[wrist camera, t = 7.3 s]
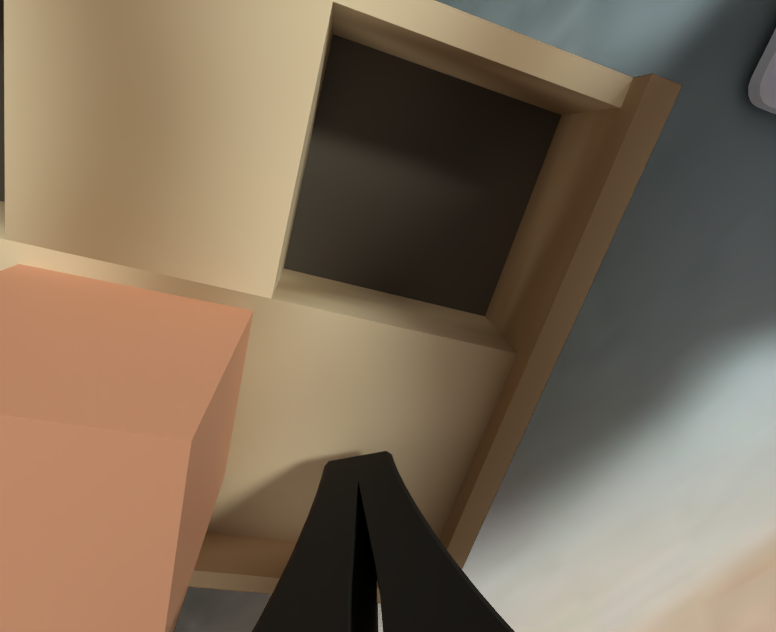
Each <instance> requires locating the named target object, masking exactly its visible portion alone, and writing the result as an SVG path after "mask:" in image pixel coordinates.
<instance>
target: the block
mask: <svg viewBox="0 0 776 632" xmlns="http://www.w3.org/2000/svg"><path fill="white" fill-rule="evenodd" d="M252 316H253V311H252V310H247V309H242V308H237V307H232V306H227V305H222V304H217V303H212V302H207V301H202V300H197V299H192V298H187V297H182V296H177V295H172V294H167V293H162V292H157V291H152V290H147V289H142V288H137V287H132V286H127V285H122V284H117V283H112V282H107V281H102V280H97V279H92V278H87V277H82V276H77V275H72V274H67V273H62V272H57V271H52V270H47V269H42V268H37V267H32V266H27V265H22V264H17V265H15V266H12V267H10V268H7V269H4V270H2V271H0V632H174V629H175V626H176V623H177V620H178V617H179V614H180V611H181V608H182V605H183V602H184V598H185V595H186V592H187V589H188V586H189V583H190V580H191V577H192V574H193V571H194V568H195V565H196V562H197V559H198V556H199V553H200V549H201V546H202V543H203V540H204V537H205V534H206V531H207V528H208V525H209V522H210V519H211V516H212V513H213V510H214V507H215V504H216V500H217V497H218V494H219V491H220V488H221V485H222V482H223V479H224V476H225V470H226V465H227V459H228V453H229V448H230V442H231V436H232V430H233V425H234V419H235V413H236V407H237V402H238V396H239V390H240V385H241V379H242V373H243V367H244V362H245V356H246V350H247V345H248V339H249V333H250V327H251V322H252Z"/></svg>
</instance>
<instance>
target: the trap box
mask: <svg viewBox="0 0 776 632" xmlns="http://www.w3.org/2000/svg"><path fill="white" fill-rule="evenodd" d="M681 87H682V85H680V84H678V83H675V82H673V81H670V80H668V79H665V78H662V77H660V76H657V75H655V74H648V75H643V76H639V77H634V78H633V77H630V76H628V75H625V74H623V73H620V72H617V71H615V70H612V69H610V68H607V67H605V66H602V65H599V64H597V63H594V62H592V61H589V60H587V59H584V58H581V57H579V56H576V55H574V54H571V53H569V52H566V51H563V50H561V49H558V48H556V47H553V46H551V45H548V44H545V43H543V42H540V41H538V40H535V39H533V38H530V37H527V36H525V35H522V34H520V33H517V32H515V31H512V30H509V29H507V28H504V27H502V26H499V25H496V24H494V23H491V22H489V21H486V20H484V19H481V18H478V17H476V16H473V15H471V14H468V13H466V12H463V11H460V10H458V9H455V8H453V7H450V6H448V5H445V4H442V3H440V2H437V1H435V0H0V271H2V270H4V269H7V268H10V267H12V266H15V265H17V264H22V265H27V266H32V267H37V268H42V269H47V270H52V271H57V272H62V273H67V274H72V275H77V276H82V277H87V278H92V279H97V280H102V281H107V282H112V283H117V284H122V285H127V286H132V287H137V288H142V289H147V290H152V291H157V292H162V293H167V294H172V295H177V296H182V297H187V298H192V299H197V300H202V301H207V302H212V303H217V304H222V305H227V306H232V307H237V308H242V309H247V310H252V311H253V316H252V322H251V327H250V333H249V339H248V345H247V350H246V356H245V362H244V367H243V373H242V379H241V385H240V390H239V396H238V402H237V407H236V413H235V419H234V425H233V430H232V436H231V442H230V448H229V453H228V459H227V465H226V470H225V476H224V479H223V482H222V485H221V488H220V491H219V494H218V497H217V500H216V504H215V507H214V510H213V513H212V516H211V519H210V522H209V525H208V528H207V531H206V534H205V537H204V540H203V543H202V546H201V549H200V553H199V556H198V559H197V562H196V565H195V568H194V571H193V574H192V577H191V580H190V583H189V586H188V587H199V588H210V589H221V590H233V591H244V592H255V593H267V594H272V593H273V591H274V589H275V587H276V585H277V583H278V581H279V579H280V577H281V575H282V573H283V571H284V569H285V567H286V565H287V563H288V561H289V559H290V556H291V554H292V552H293V550H294V548H295V545H296V543H297V540H298V538H299V536H300V533H301V531H302V529H303V526H304V524H305V522H306V519H307V517H308V514H309V512H310V509H311V506H312V504H313V501H314V498H315V495H316V493H317V490H318V487H319V483H320V480H321V477H322V473H323V469H324V466H325V465H326V464H327V463H328V461H332V460H338V459H343V458H349V457H354V456H360V455H366V454H371V453H377V452H382V451H387V452H389V453H391V454H392V456H393V459H394V462H395V465H396V467H397V470H398V472H399V474H400V476H401V478H402V480H403V482H404V484H405V486H406V488H407V489H408V491H409V493H410V495H411V497H412V498H413V500H414V502H415V503H416V505H417V507H418V508H419V510H420V511H421V513H422V514H423V516H424V517H425V519H426V521H427V522H428V524H429V525H430V527H431V528H432V530H433V531H434V533H435V534H436V536H437V537H438V538H439V540H440V541H441V543H442V544H443V546H444V547H445V548H446V550H447V551H448V552H449V554H450V555H451V556H452V558H453V559H454V560H455V562H456V563H457V564H458V566H459V567H460V568H461V570H462V568H463V566H464V564H465V561H466V559H467V557H468V555H469V553H470V550H471V548H472V546H473V544H474V542H475V540H476V537H477V535H478V533H479V531H480V529H481V526H482V524H483V522H484V520H485V518H486V515H487V513H488V511H489V509H490V507H491V504H492V502H493V500H494V498H495V496H496V493H497V491H498V489H499V487H500V485H501V482H502V480H503V478H504V476H505V474H506V471H507V469H508V467H509V465H510V463H511V460H512V458H513V456H514V454H515V452H516V449H517V447H518V445H519V443H520V441H521V438H522V436H523V434H524V432H525V430H526V427H527V425H528V423H529V421H530V419H531V416H532V414H533V412H534V410H535V408H536V406H537V403H538V401H539V399H540V397H541V395H542V392H543V390H544V388H545V386H546V384H547V381H548V379H549V377H550V375H551V373H552V370H553V368H554V366H555V364H556V362H557V359H558V357H559V355H560V353H561V351H562V348H563V346H564V344H565V342H566V340H567V337H568V335H569V333H570V331H571V329H572V326H573V324H574V322H575V320H576V318H577V315H578V313H579V311H580V309H581V307H582V304H583V302H584V300H585V298H586V296H587V293H588V291H589V289H590V287H591V285H592V282H593V280H594V278H595V276H596V274H597V272H598V269H599V267H600V265H601V263H602V261H603V258H604V256H605V254H606V252H607V250H608V247H609V245H610V243H611V241H612V239H613V236H614V234H615V232H616V230H617V228H618V225H619V223H620V221H621V219H622V217H623V214H624V212H625V210H626V208H627V206H628V203H629V201H630V199H631V197H632V195H633V192H634V190H635V188H636V186H637V184H638V181H639V179H640V177H641V175H642V173H643V170H644V168H645V166H646V164H647V162H648V159H649V157H650V155H651V153H652V151H653V148H654V146H655V144H656V142H657V140H658V138H659V135H660V133H661V131H662V129H663V127H664V124H665V122H666V120H667V118H668V116H669V113H670V111H671V109H672V107H673V105H674V102H675V100H676V98H677V96H678V94H679V91H680V89H681ZM377 603H381V599H380V592H379V587H378V582H377Z"/></svg>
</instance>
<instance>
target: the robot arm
mask: <svg viewBox="0 0 776 632" xmlns="http://www.w3.org/2000/svg"><path fill="white" fill-rule="evenodd" d="M748 96H749V99H750V101H751V103H752V104H753V105H755V106H756V107H758V108H760V109H763V110H765V111H768V112H770V113H773V114H775V115H776V29H775V31H774V33H773V35H772V37H771V39H770V41H769V43H768V45H767V47H766V49H765V51H764V53H763V55H762V57H761V59H760V61H759V63H758V65H757V67H756V69H755V71H754V73H753V75H752V77H751V80H750V83H749V86H748ZM377 582H378V587H379V592H380V599H381V610H382V621H383V632H514V630H513V629H512V628H511V627H510V626H509V625H508V624H507V623H506V622H505V621H504V619H503V618H502V617H501V616H500V615H499V614H498V613H497V612H496V611H495V609H494V608H493V607H492V606H491V605H490V604H489V602H488V601H487V600H486V599H485V598H484V597H483V595H482V594H481V593H480V592H479V591H478V589H477V588H476V587H475V586H474V585H473V583H472V582H471V581H470V580H469V578H468V577H467V576H466V575H465V573H464V572H463V571H462V570H461V568H460V567H459V566H458V564H457V563H456V562H455V560H454V559H453V558H452V556H451V555H450V554H449V552H448V551H447V550H446V548H445V547H444V546H443V544H442V543H441V541H440V540H439V538H438V537H437V536H436V534H435V533H434V531H433V530H432V528H431V527H430V525H429V524H428V522H427V521H426V519H425V517H424V516H423V514H422V513H421V511H420V510H419V508H418V507H417V505H416V503H415V502H414V500H413V498H412V497H411V495H410V493H409V491H408V489H407V488H406V486H405V484H404V482H403V480H402V478H401V476H400V474H399V472H398V470H397V467H396V465H395V462H394V459H393V456H392V454H391V453H389V452H387V451H382V452H377V453H371V454H366V455H360V456H354V457H349V458H343V459H338V460H332V461H328V463H327V464H326V465H325V466H324V469H323V473H322V477H321V480H320V483H319V487H318V490H317V493H316V495H315V498H314V501H313V504H312V506H311V509H310V512H309V514H308V517H307V519H306V522H305V524H304V526H303V529H302V531H301V533H300V536H299V538H298V540H297V543H296V545H295V548H294V550H293V552H292V554H291V556H290V559H289V561H288V563H287V565H286V567H285V569H284V571H283V573H282V575H281V577H280V579H279V581H278V583H277V585H276V587H275V589H274V591H273V593H272V595H271V598H270V599H269V601H268V603H267V605H266V607H265V609H264V611H263V613H262V615H261V616H260V618H259V620H258V622H257V624H256V626H255V627H254V629H253V631H252V632H378V604H377Z"/></svg>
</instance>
